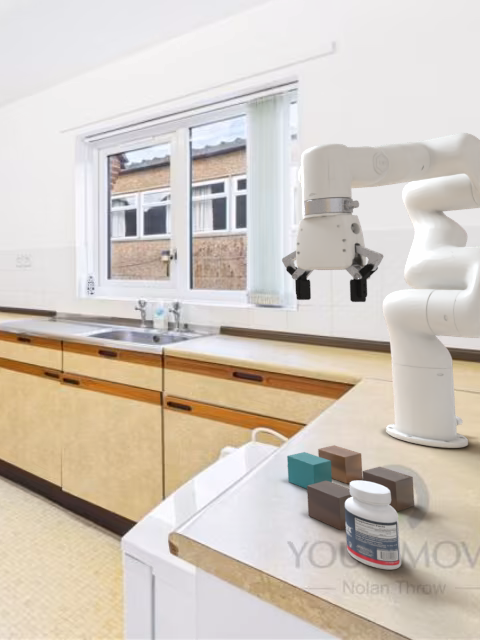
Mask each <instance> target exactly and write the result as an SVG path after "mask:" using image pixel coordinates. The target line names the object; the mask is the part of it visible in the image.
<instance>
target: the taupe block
mask: <svg viewBox="0 0 480 640" xmlns="http://www.w3.org/2000/svg"><path fill="white" fill-rule="evenodd" d="M362 477H363V479H362V481H369V482H373V483H377V484H380V485H382V486H385V487H386V488H388V489H389V490H390V493H391V503H390V504H389V505H390V506H392V507H393V508H394V509H395V510H396V512H400V511H403V510H406V509H409V508H412V507H415V493H414V476H411V475H408V474H405V473H401V472H398V471H395V470H392V469H389V468H386V467H383V466H377V467H372V468H369V469H365V470H362Z"/></svg>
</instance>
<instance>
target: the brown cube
mask: <svg viewBox="0 0 480 640" xmlns="http://www.w3.org/2000/svg"><path fill="white" fill-rule="evenodd" d="M306 490H307V491H306V492H307V494H306V495H307V511H308V512H307V513H308V517H310V518H313V519H315V520H317V521H320V522H322V523H324V524H326V525H328V526H331V527H333V528H335V529H338V530H339V531H342V530H346V519H345V501H346V500H347V499H348V498H350V497H352V496H351V495H350V488H348V487H346V486H343V485H340V484H337V483H334V482H333V481H332V482H329V481H323V482H319V483H315V484H311V485H308V486H307V489H306Z"/></svg>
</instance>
